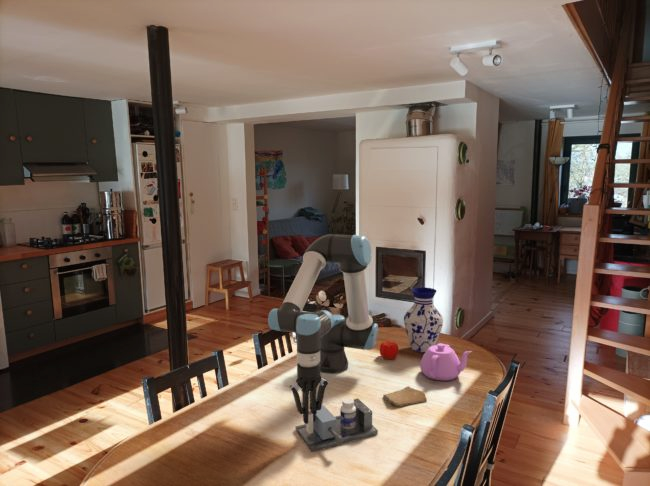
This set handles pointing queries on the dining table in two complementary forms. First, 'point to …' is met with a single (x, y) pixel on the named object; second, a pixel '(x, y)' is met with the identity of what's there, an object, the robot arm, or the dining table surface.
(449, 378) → the teapot
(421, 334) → the vase
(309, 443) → the vise
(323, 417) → the block
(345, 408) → the pill bottle
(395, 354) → the tomato
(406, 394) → the stone
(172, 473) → the dining table surface
